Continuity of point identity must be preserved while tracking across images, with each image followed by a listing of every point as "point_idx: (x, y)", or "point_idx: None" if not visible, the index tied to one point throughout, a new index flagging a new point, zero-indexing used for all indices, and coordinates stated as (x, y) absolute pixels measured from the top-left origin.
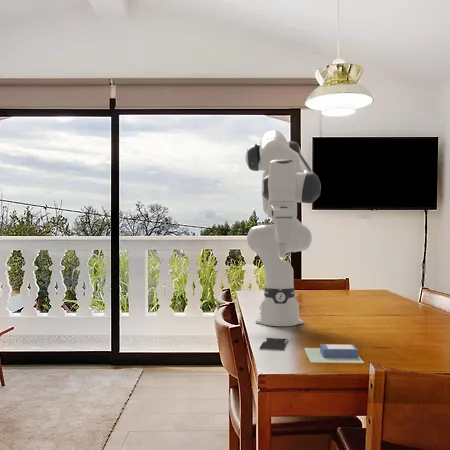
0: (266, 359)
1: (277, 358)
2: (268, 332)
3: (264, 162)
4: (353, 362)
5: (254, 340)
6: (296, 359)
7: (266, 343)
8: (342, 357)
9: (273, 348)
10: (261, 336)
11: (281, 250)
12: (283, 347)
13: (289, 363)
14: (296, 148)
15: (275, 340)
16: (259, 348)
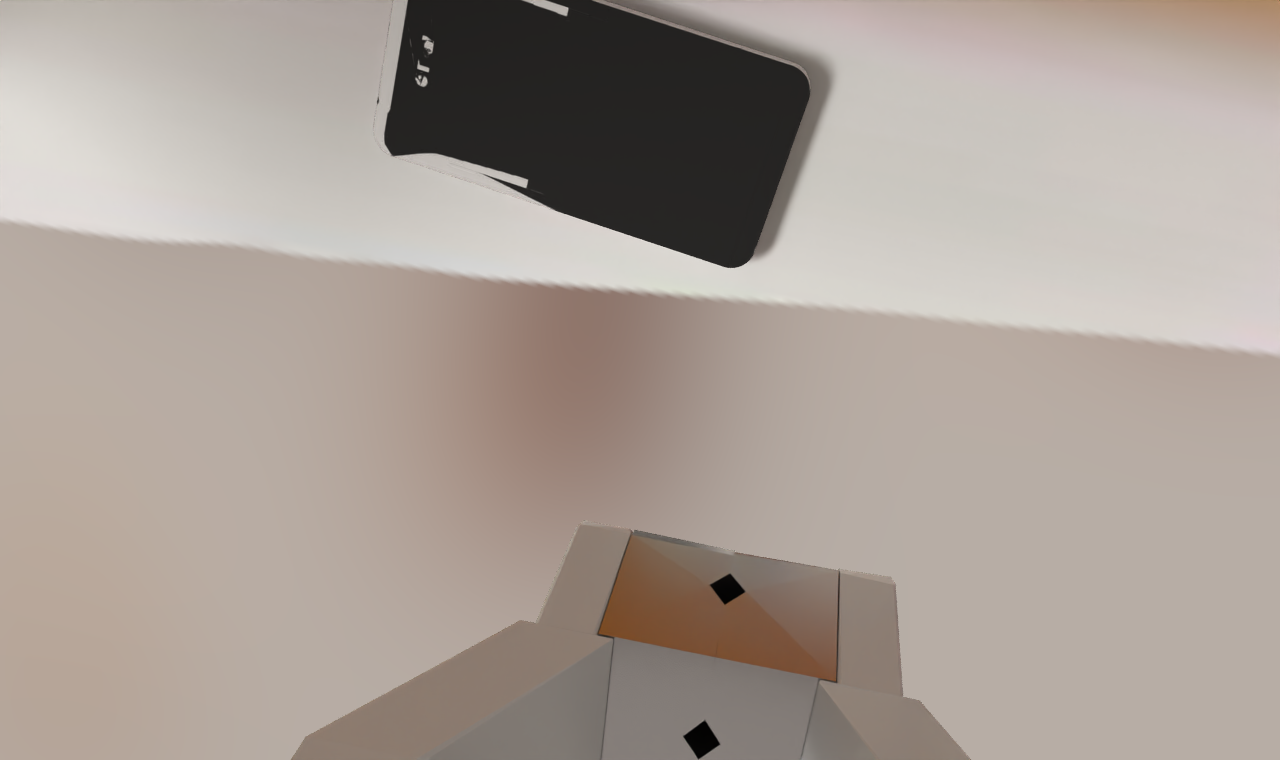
0: (1014, 257)
1: (1003, 164)
2: (101, 69)
3: None
4: None
5: (404, 243)
6: (1072, 3)
7: (582, 183)
8: None
9: (753, 155)
10: (260, 160)
11: None
12: (728, 58)
13: (1183, 95)
14: None
15: (479, 83)
16: (729, 266)
